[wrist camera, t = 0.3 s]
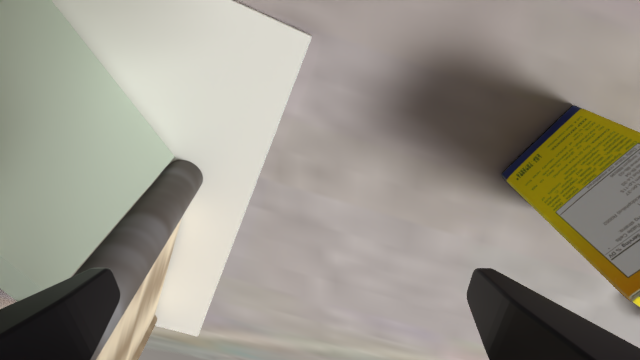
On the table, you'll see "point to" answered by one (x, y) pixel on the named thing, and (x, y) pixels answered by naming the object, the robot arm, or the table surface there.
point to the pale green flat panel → (62, 149)
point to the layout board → (198, 115)
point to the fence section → (143, 258)
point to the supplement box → (588, 191)
